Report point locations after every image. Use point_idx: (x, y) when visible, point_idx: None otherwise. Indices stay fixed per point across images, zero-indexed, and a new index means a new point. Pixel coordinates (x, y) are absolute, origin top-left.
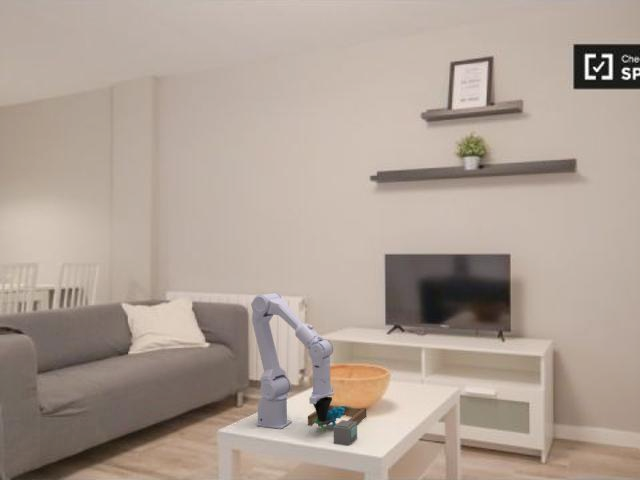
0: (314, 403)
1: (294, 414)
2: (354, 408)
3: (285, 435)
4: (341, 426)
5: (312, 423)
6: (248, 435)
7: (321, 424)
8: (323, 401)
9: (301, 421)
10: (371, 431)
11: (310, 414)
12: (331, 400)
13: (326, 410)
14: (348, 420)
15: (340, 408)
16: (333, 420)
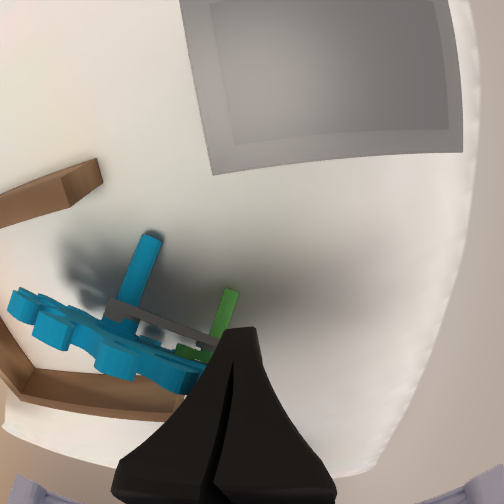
0: (499, 471)
1: (129, 439)
2: None
3: (357, 389)
4: (442, 69)
5: None
6: (386, 440)
7: (214, 335)
8: (317, 501)
9: None
10: (46, 43)
11: (149, 420)
12: (134, 463)
13: (239, 393)
14: (60, 205)
15: (49, 320)
16: (128, 301)
